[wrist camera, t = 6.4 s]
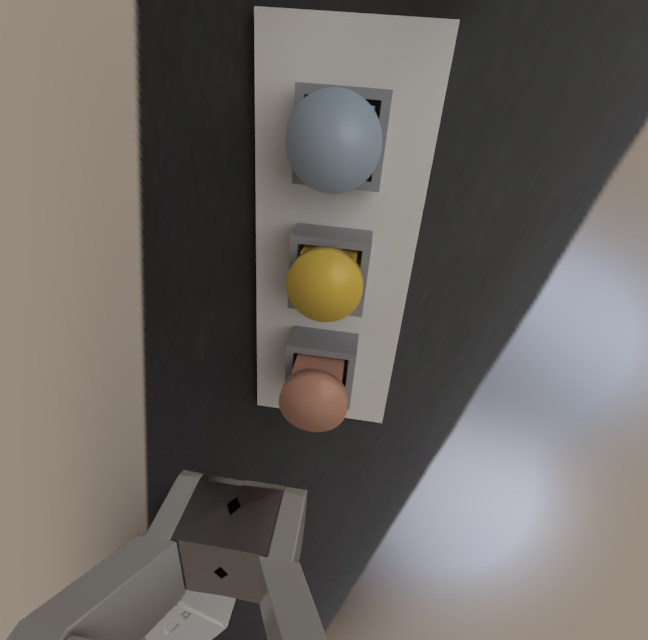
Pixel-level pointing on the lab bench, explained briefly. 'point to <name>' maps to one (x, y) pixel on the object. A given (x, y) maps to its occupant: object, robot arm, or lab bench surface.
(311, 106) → the slate button
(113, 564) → the robot arm
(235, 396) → the lab bench surface
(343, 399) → the terracotta button
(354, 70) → the console
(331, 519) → the lab bench surface
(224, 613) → the ink box
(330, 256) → the ochre button
